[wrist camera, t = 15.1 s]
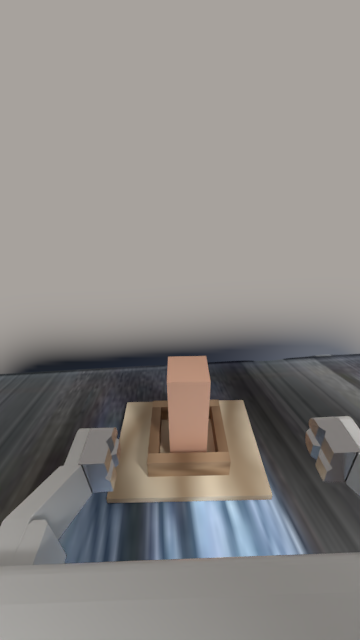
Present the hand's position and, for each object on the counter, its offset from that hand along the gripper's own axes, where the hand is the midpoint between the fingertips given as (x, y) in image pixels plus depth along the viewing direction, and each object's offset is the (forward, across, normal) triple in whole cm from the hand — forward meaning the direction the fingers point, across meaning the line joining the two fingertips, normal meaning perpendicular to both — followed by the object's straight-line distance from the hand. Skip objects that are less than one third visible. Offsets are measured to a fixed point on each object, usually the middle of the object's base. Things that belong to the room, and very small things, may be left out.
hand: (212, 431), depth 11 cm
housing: (+15, +2, +22) cm, 27 cm away
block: (+15, +1, +21) cm, 26 cm away
